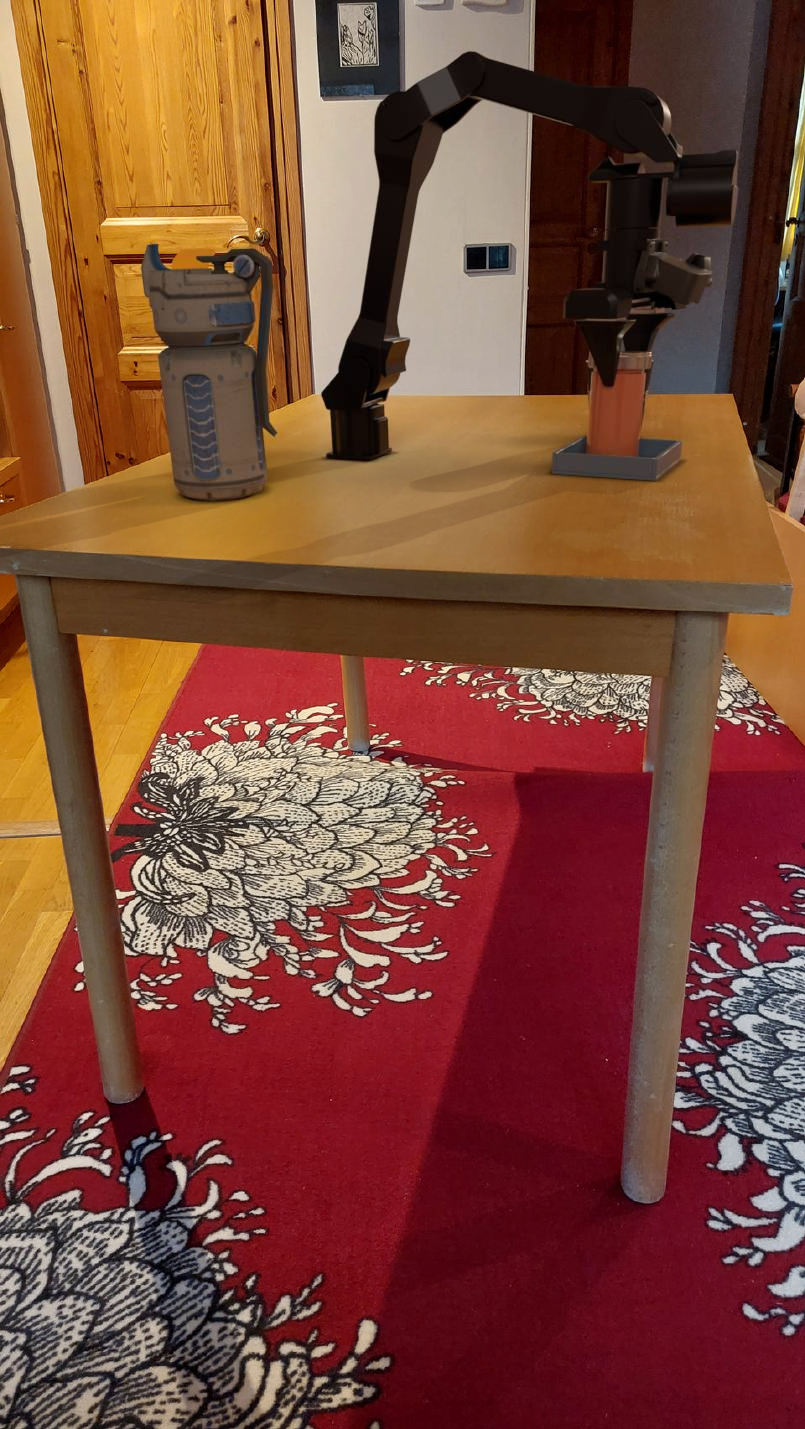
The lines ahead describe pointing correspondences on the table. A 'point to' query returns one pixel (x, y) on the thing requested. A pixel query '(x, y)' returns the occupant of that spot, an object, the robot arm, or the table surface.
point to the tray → (618, 460)
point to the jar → (616, 414)
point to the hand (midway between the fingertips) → (622, 383)
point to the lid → (629, 360)
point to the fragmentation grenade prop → (213, 370)
